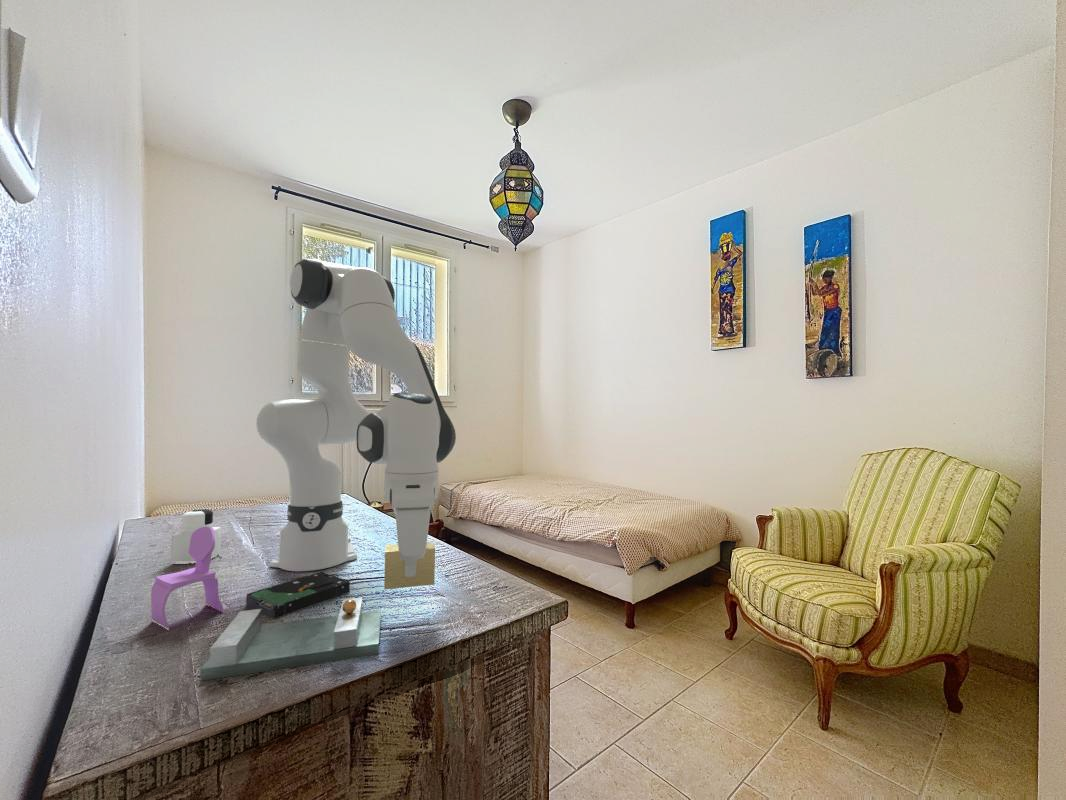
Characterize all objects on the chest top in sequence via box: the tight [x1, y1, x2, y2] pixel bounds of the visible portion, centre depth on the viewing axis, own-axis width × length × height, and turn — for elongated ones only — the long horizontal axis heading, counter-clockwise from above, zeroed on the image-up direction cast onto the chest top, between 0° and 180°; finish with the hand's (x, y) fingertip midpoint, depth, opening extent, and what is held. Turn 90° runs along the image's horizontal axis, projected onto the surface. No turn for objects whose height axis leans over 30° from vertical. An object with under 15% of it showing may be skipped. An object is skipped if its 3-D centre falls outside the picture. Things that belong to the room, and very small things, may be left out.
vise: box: [199, 609, 382, 682], centre depth 67 cm, size 12×22×4 cm, turn 107°
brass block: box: [383, 541, 436, 590], centre depth 76 cm, size 4×8×6 cm, turn 107°
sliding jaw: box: [334, 597, 363, 649], centre depth 69 cm, size 12×3×4 cm, turn 17°
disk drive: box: [245, 571, 351, 620], centre depth 85 cm, size 10×3×15 cm
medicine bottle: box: [170, 508, 222, 561], centre depth 109 cm, size 7×7×12 cm
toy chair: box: [150, 526, 225, 628], centre depth 77 cm, size 8×9×15 cm
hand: (409, 569), depth 76 cm, fingers closed on brass block, 4 cm apart
